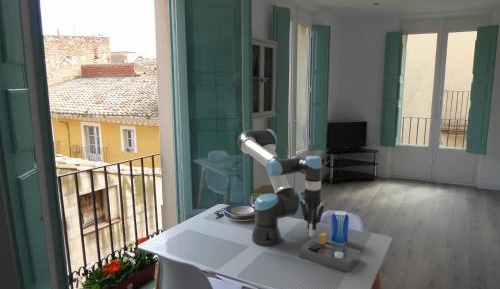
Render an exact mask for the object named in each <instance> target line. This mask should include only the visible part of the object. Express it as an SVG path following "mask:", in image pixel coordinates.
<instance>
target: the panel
mask: <svg viewBox="0 0 500 289" xmlns="http://www.w3.org/2000/svg"><path fill="white" fill-rule="evenodd" d="M311 241H316V242H318V243H319V242H320V238H314V237H312V238H311V239H309V240H308V241H306V242H304V244H302V245H301V246H299V248H298V257H299V258H301V259H304V260H307V261H311V262H314V263H317V264H319V265H323V266H326V267H329V268H332V269H334V270H339V271H342V272H345V273H348V274H349V273H350V272H351V270H353V269H354V267H355V266H356V265H357V263H359V261H361V250H359V249H355V248H352V247H348V246H346V245H340V244H336V243H333V242H332V241H329V240H326V243H325V244H321V243H319V250H318V251H317V252H315V251H312V250H310V242H311ZM336 251H341V252H343V253H344V256H343V259H339V258H335V257H334V252H336Z"/></svg>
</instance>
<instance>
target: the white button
mask: <svg viewBox="0 0 500 289" xmlns="http://www.w3.org/2000/svg"><path fill="white" fill-rule="evenodd" d="M343 256H344V253H343V252H341V251H336V252H334V257H335V258H339V259H343Z"/></svg>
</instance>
